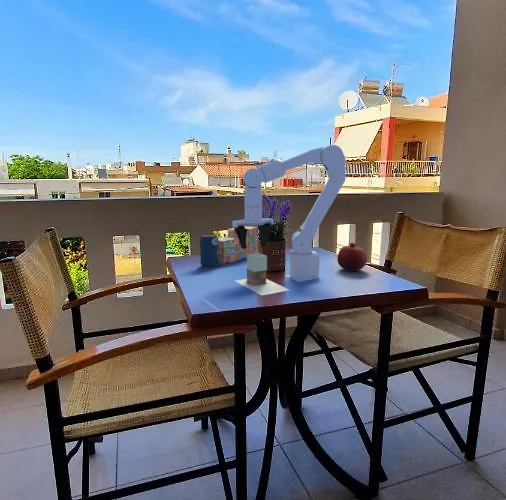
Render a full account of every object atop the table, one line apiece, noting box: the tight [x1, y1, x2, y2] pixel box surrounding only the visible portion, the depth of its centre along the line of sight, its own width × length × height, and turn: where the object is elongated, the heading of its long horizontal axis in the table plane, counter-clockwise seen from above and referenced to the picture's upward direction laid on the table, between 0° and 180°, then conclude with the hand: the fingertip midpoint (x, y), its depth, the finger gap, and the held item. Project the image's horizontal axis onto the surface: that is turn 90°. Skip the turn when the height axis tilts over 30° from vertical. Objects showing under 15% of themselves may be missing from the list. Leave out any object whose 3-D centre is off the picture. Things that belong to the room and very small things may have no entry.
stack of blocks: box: [217, 226, 258, 265], centre depth 153 cm, size 21×6×12 cm, turn 141°
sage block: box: [246, 252, 268, 272], centre depth 117 cm, size 4×4×4 cm
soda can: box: [199, 233, 220, 269], centre depth 140 cm, size 7×7×12 cm
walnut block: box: [246, 268, 267, 285], centre depth 118 cm, size 4×4×4 cm
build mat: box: [235, 278, 290, 296], centre depth 116 cm, size 10×17×1 cm, turn 30°
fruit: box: [336, 242, 368, 272], centre depth 134 cm, size 11×10×10 cm
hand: (253, 247), depth 124 cm, fingers open, 7 cm apart
